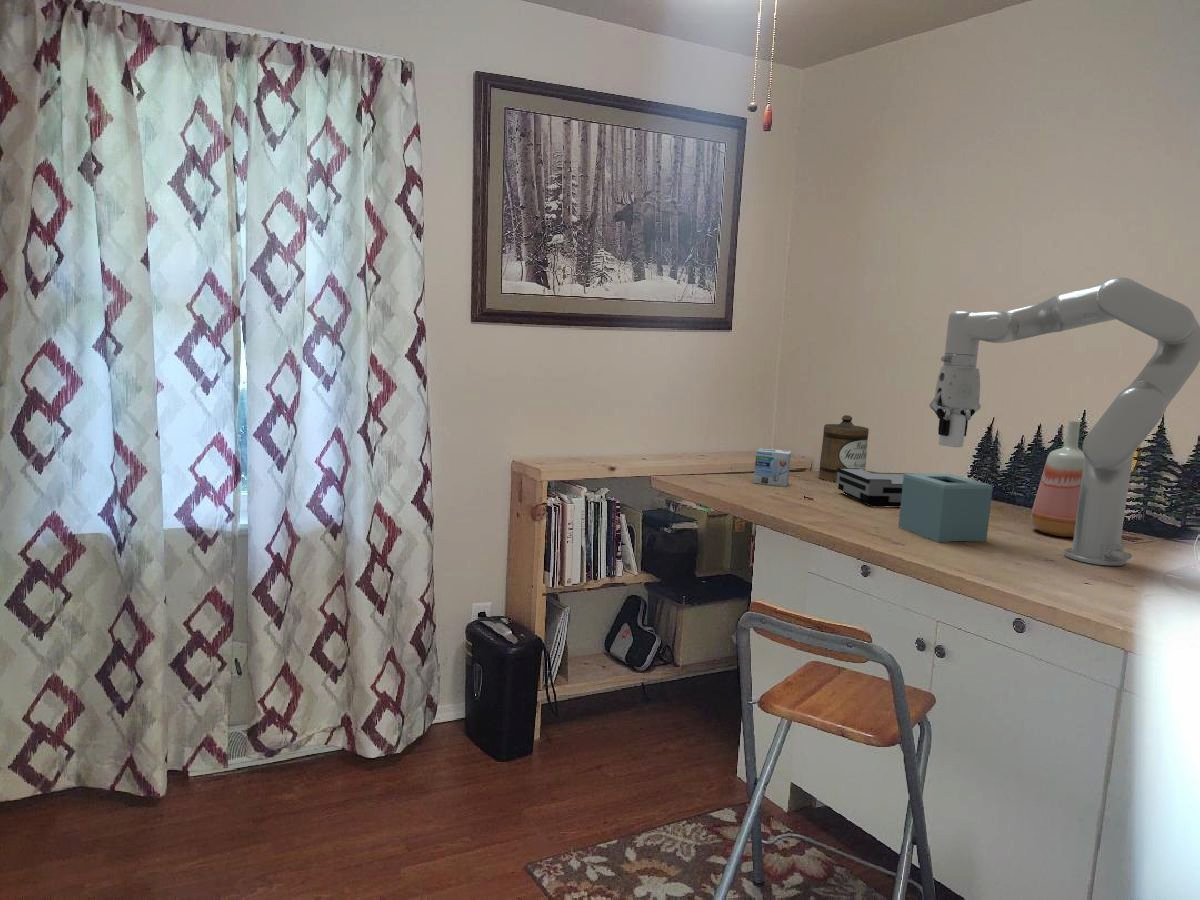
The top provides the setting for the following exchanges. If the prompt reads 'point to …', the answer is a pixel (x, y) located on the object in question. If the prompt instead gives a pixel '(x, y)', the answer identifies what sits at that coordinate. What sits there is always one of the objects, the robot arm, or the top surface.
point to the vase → (1060, 488)
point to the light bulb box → (772, 467)
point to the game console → (871, 486)
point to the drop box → (945, 507)
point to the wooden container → (842, 448)
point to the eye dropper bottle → (954, 430)
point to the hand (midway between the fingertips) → (952, 434)
